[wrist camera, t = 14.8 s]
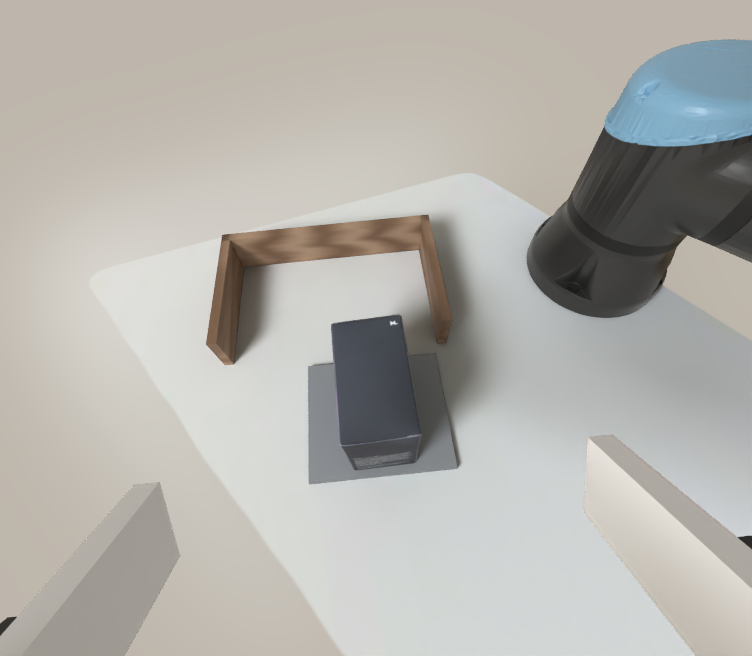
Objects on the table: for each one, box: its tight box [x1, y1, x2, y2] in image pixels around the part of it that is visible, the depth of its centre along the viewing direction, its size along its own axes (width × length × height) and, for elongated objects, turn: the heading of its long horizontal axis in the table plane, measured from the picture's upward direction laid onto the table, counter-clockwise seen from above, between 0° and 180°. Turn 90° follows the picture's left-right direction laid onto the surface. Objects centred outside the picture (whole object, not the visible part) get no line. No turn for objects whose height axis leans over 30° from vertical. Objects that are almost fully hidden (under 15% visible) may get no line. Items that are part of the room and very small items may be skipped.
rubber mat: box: [308, 353, 458, 484], centre depth 39 cm, size 14×12×1 cm
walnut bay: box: [206, 215, 452, 365], centre depth 45 cm, size 25×15×5 cm, turn 95°
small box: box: [331, 314, 422, 470], centre depth 34 cm, size 11×6×10 cm, turn 7°
